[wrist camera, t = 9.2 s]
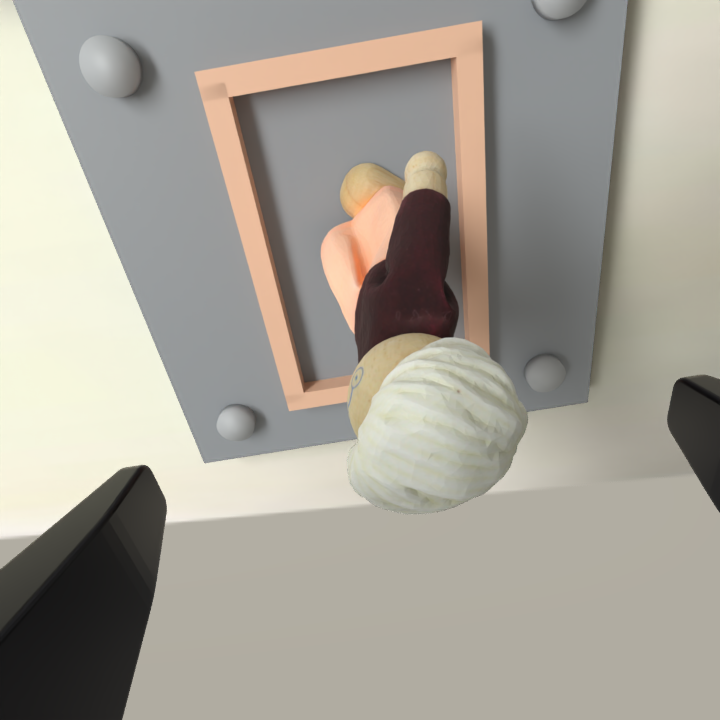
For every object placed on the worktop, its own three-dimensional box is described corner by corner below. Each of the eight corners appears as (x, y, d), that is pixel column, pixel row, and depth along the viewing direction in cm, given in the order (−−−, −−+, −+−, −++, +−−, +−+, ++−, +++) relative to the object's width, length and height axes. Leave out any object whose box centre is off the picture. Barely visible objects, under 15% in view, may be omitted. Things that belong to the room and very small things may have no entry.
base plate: (613, -107, 15) (656, -135, 13) (573, 384, 24) (595, 412, 22) (35, -1, 15) (-8, -12, 13) (210, 442, 24) (200, 475, 22)
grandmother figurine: (308, 135, 16) (274, 259, 5) (423, 126, 16) (616, 229, 6) (331, 339, 20) (337, 651, 9) (424, 331, 20) (538, 631, 9)
